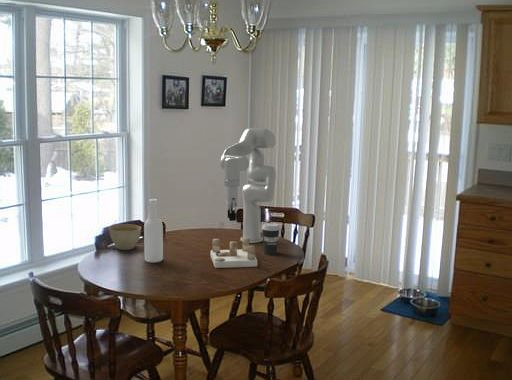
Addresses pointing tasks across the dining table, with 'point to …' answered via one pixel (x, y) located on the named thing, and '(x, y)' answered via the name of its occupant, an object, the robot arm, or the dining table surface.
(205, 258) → the dining table surface
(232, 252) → the swing leg
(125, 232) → the planter bowl
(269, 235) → the coffee cup
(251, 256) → the fixed legs
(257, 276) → the dining table surface
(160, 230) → the alcohol
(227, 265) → the footstool seat
